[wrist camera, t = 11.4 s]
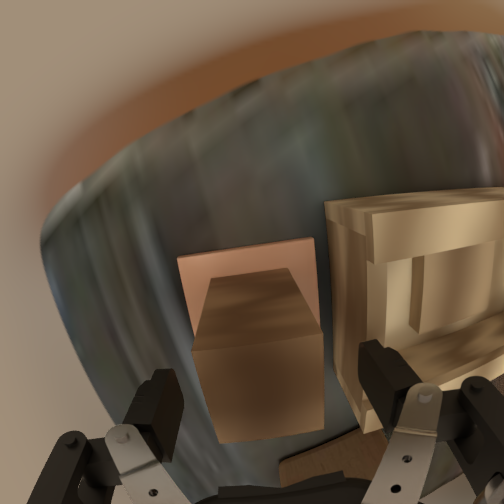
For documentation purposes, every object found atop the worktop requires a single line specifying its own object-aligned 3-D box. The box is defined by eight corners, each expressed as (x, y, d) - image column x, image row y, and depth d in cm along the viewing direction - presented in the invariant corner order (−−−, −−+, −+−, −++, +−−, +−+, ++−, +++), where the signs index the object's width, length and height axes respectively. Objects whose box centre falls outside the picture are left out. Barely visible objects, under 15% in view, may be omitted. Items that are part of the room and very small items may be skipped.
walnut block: (287, 267, 17) (323, 333, 10) (294, 340, 19) (323, 428, 11) (211, 278, 17) (191, 351, 10) (225, 350, 19) (219, 443, 11)
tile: (311, 236, 18) (313, 238, 17) (319, 350, 20) (321, 354, 19) (179, 256, 18) (176, 258, 17) (204, 366, 19) (204, 371, 19)
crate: (510, 186, 17) (568, 194, 11) (500, 314, 20) (546, 344, 14) (323, 201, 17) (372, 214, 11) (333, 369, 20) (363, 433, 13)
